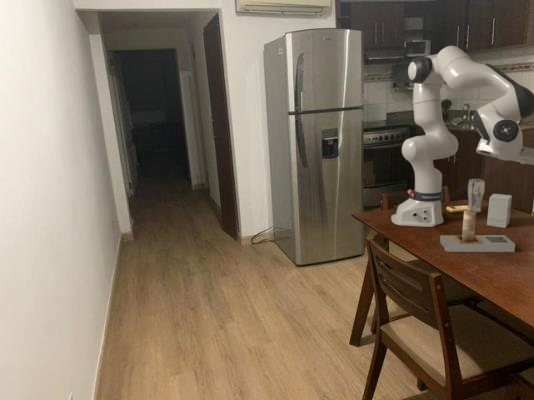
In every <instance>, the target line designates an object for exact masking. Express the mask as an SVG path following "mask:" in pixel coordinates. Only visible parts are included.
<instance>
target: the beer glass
mask: <svg viewBox="0 0 534 400" xmlns="http://www.w3.org/2000/svg"><path fill="white" fill-rule="evenodd" d="M485 187H486V186H485V180H484V179H481V178H471V179H468V184H467V198H468V206H467V209H468V208H469V209H471V210H473V211H476V214H477V213H481V212H482V201H483V198H484V194H485Z"/></svg>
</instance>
